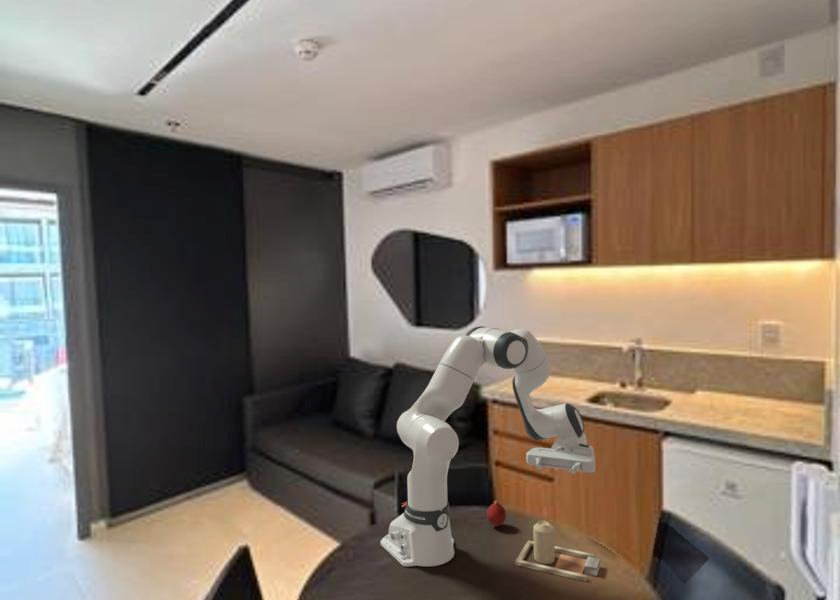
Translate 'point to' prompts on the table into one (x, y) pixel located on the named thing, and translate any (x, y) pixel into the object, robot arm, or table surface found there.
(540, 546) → the candle
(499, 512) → the onion
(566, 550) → the beige frame
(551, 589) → the table surface
